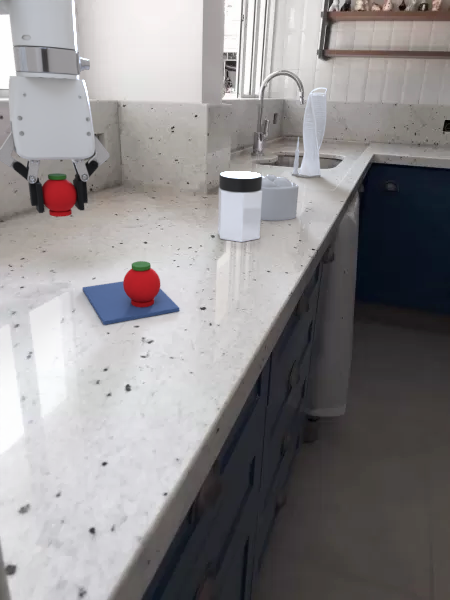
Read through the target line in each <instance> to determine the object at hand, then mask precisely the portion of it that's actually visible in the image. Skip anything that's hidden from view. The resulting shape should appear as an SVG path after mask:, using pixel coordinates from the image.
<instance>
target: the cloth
mask: <svg viewBox="0 0 450 600" xmlns="http://www.w3.org/2000/svg"><path fill="white" fill-rule="evenodd" d="M123 281H124V280H123ZM123 281H116V282H109V283H102V284H95V285H89V286H83V287H82V292H83V293H84V295H85V297H86V298H87V300H88V301H89V304H90V305H91V306H92V308H93V310H94V311H95V314H96V315H97V316H98V318H99V319H100V322H101V323H102V324H103V325H104V326H107V325H111V324H116V323H122V322H126V321H132V320H133V321H134V320H138V319H139V320H140V319H144V318H149V317H154V316H155V317H156V316H160V315H161V316H162V315H165V314H172V313H177V312H180V307H179V306H178V305H177V304H176V303H175V302H174V301H173V300H172V299H171V298H170V296H168V294H166V293H165V291H164V290H162V289H161V288H160V290H159V292H158V294H157V295H156V296H155V297H154V304H153V305H151V306H148V307H135V306H133V305H132V304H131V298H129V297H128V296H127V294H126V293H125V291H124V287H123Z"/></svg>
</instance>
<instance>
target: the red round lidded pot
mask: <svg viewBox="0 0 450 600" xmlns="http://www.w3.org/2000/svg"><path fill="white" fill-rule="evenodd" d="M160 278H161V277H160V276H159V274H158V273H157V272H156V271H155V270H154V268H151V262H150V261H144V260H139V261H135V262H132V263H131V268H130V269H129V270H127V272H126V274H125V275H124V278H123V287H124V291H125V293H126V294H127V296H128V297H129V298H131V304H132V305H133V306H135V307H148V306H151V305H153V304H154V297H155V296H156V295H157V294H158V292H159V290H160V289H161V279H160Z"/></svg>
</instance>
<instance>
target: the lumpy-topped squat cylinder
mask: <svg viewBox="0 0 450 600" xmlns="http://www.w3.org/2000/svg"><path fill="white" fill-rule="evenodd" d="M261 191H262V206H261V221H288V220H293V219H295V218H296V217H297V211H298V210H297V209H298V196H299V185H298V184H296V183H295V182H292V181H290V179H289V178H287V177H285V176H276V175H275V174H266V175H265V176H264V175H262V187H261Z"/></svg>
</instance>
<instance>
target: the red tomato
mask: <svg viewBox="0 0 450 600" xmlns="http://www.w3.org/2000/svg"><path fill="white" fill-rule="evenodd" d="M47 178H48V179H47V180H46V181H44V183H43V184H42V191H43V201H44V207H45V208H47V209H48V214H49V216H51V217H56V218H57V217H59V218H61V217H69V216H72V214H73V211H72V209H73V208H74V206H75V203H76V200H77V192H76V189H75V187H74V185H73V182H71V181H70V180H68V179H67V174H65V173H59V172H58V173H56V172H55V173H49V174H47Z"/></svg>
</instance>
